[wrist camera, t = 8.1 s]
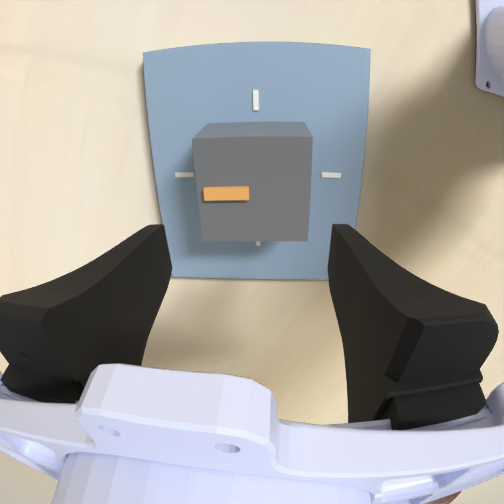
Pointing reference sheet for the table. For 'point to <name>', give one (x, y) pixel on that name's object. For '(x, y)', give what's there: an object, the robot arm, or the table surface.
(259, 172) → the grey drawer cabinet
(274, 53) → the plate
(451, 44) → the table surface
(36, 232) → the table surface
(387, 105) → the table surface
